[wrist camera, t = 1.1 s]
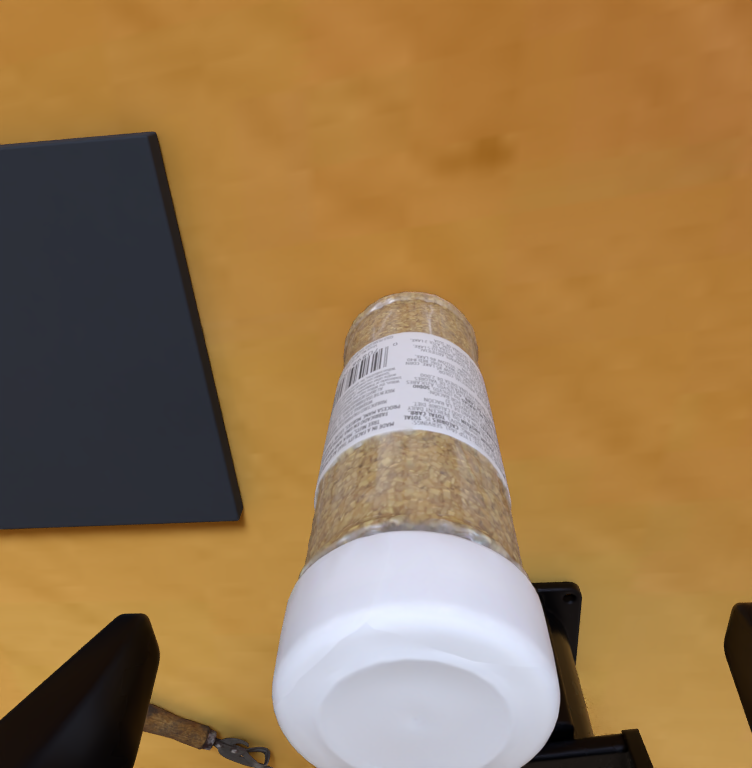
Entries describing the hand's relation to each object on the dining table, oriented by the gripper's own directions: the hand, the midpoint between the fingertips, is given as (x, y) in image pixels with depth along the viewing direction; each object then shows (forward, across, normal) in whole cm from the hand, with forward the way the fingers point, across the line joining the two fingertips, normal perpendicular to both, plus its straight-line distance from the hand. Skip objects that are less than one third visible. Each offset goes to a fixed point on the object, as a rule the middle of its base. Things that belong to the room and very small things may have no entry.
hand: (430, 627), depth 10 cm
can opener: (+13, +12, +21) cm, 28 cm away
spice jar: (+13, 0, +1) cm, 13 cm away
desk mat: (+13, +17, +1) cm, 21 cm away
